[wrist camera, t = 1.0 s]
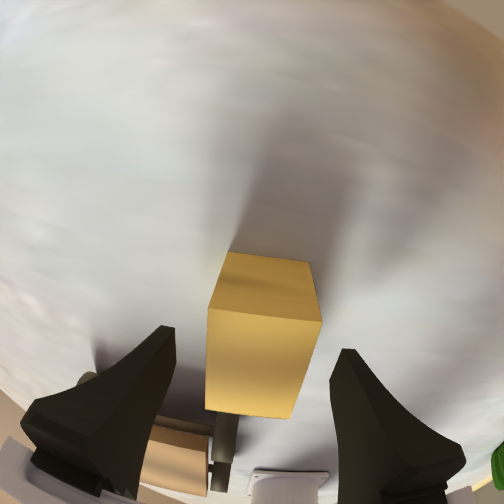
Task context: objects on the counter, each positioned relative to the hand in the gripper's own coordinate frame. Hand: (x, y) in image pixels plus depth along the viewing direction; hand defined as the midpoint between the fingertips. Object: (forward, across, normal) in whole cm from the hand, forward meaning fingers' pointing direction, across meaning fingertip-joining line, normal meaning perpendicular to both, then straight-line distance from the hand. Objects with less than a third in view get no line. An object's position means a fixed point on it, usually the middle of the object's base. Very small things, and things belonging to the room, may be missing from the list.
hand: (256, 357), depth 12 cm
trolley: (+4, +6, +13) cm, 15 cm away
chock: (+4, 0, 0) cm, 4 cm away
